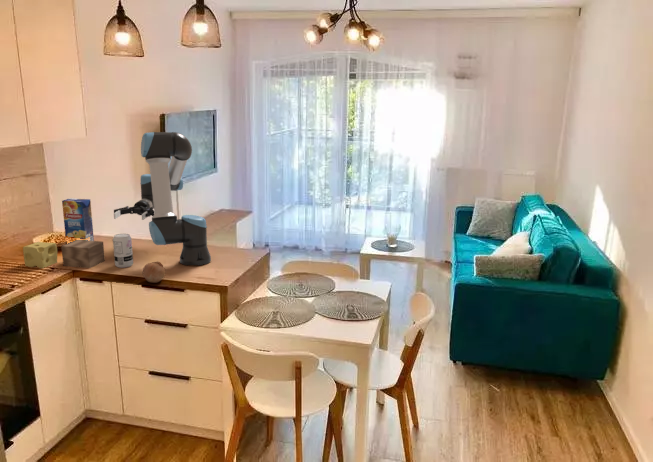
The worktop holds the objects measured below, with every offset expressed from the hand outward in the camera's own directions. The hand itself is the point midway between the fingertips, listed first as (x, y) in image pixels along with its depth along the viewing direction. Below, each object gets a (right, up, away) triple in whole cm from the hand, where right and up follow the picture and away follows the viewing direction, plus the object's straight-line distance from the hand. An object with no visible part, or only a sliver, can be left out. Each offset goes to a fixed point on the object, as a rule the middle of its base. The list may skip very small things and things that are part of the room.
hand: (128, 216), depth 253 cm
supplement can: (-1, -24, -3) cm, 24 cm away
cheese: (-40, -23, -5) cm, 47 cm away
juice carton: (-40, -14, +33) cm, 53 cm away
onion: (+21, -30, -24) cm, 43 cm away
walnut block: (-21, -23, -2) cm, 31 cm away
